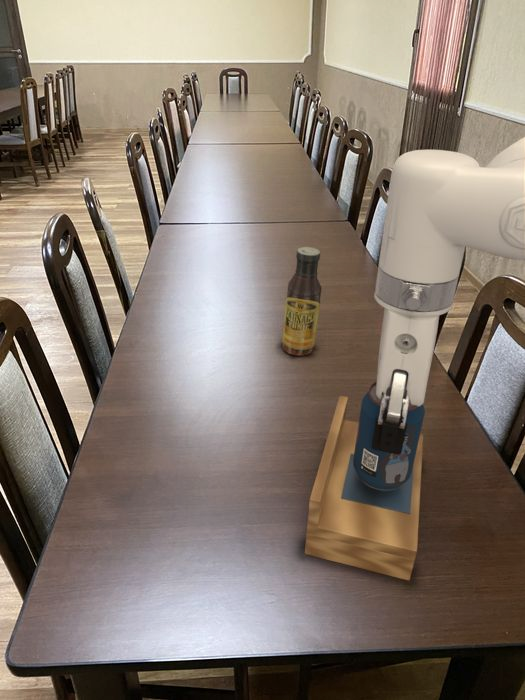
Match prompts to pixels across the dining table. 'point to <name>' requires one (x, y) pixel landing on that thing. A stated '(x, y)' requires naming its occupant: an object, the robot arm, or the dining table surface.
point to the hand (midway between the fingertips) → (389, 427)
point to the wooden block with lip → (361, 509)
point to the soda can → (379, 465)
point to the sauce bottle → (302, 304)
